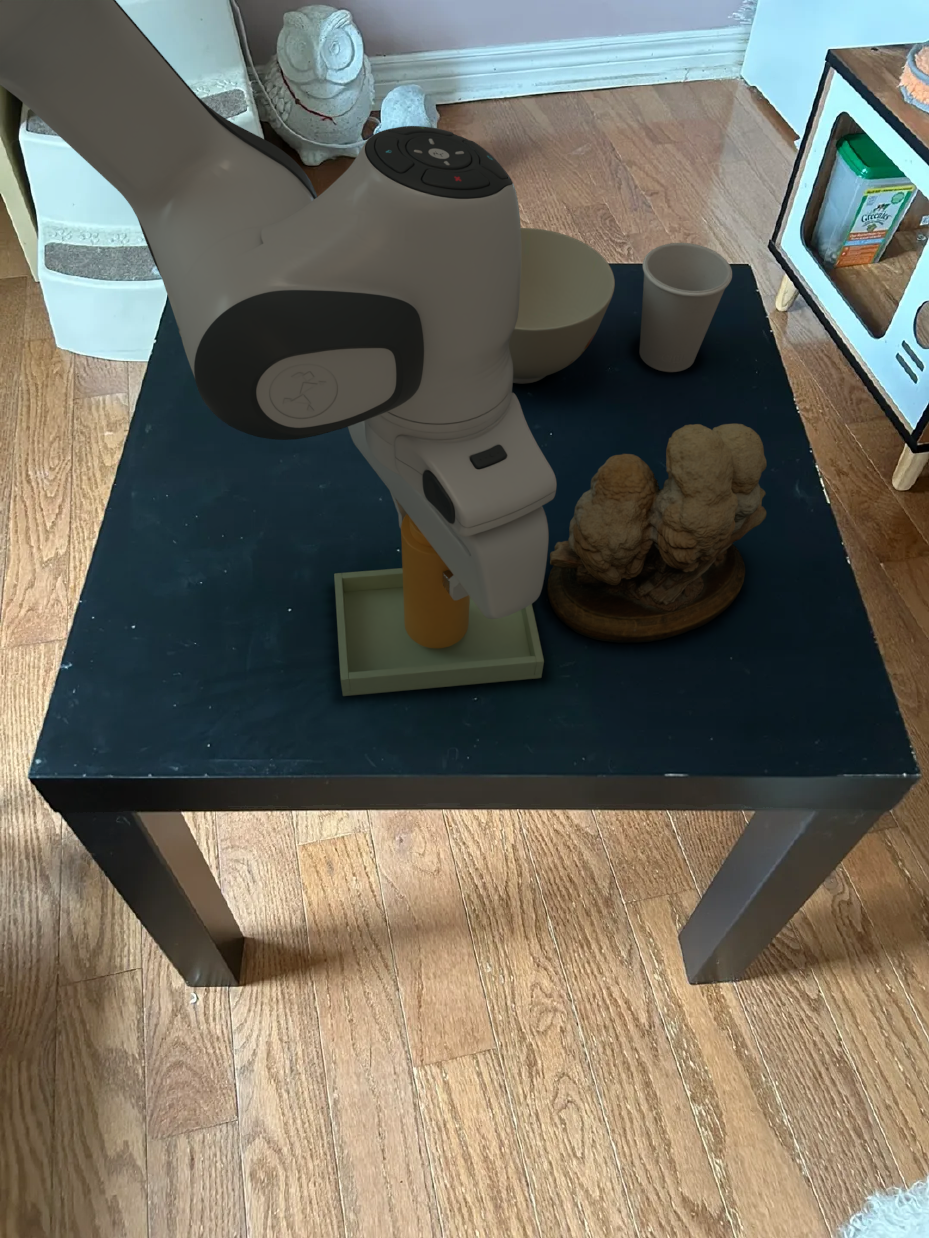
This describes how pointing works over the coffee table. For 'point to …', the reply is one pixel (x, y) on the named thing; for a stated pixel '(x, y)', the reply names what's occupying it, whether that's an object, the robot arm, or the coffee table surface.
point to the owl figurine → (660, 538)
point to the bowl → (557, 303)
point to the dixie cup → (679, 302)
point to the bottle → (429, 593)
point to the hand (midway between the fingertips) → (436, 561)
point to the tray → (395, 662)
